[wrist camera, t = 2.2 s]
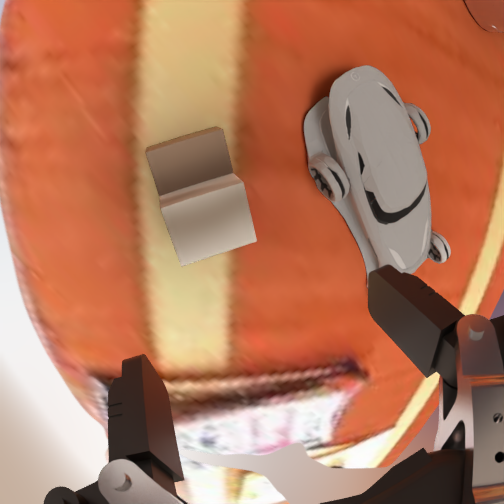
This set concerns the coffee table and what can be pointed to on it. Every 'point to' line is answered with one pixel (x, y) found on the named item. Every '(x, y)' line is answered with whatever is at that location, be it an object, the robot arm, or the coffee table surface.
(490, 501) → the robot arm
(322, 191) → the car model
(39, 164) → the coffee table surface
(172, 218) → the chock
